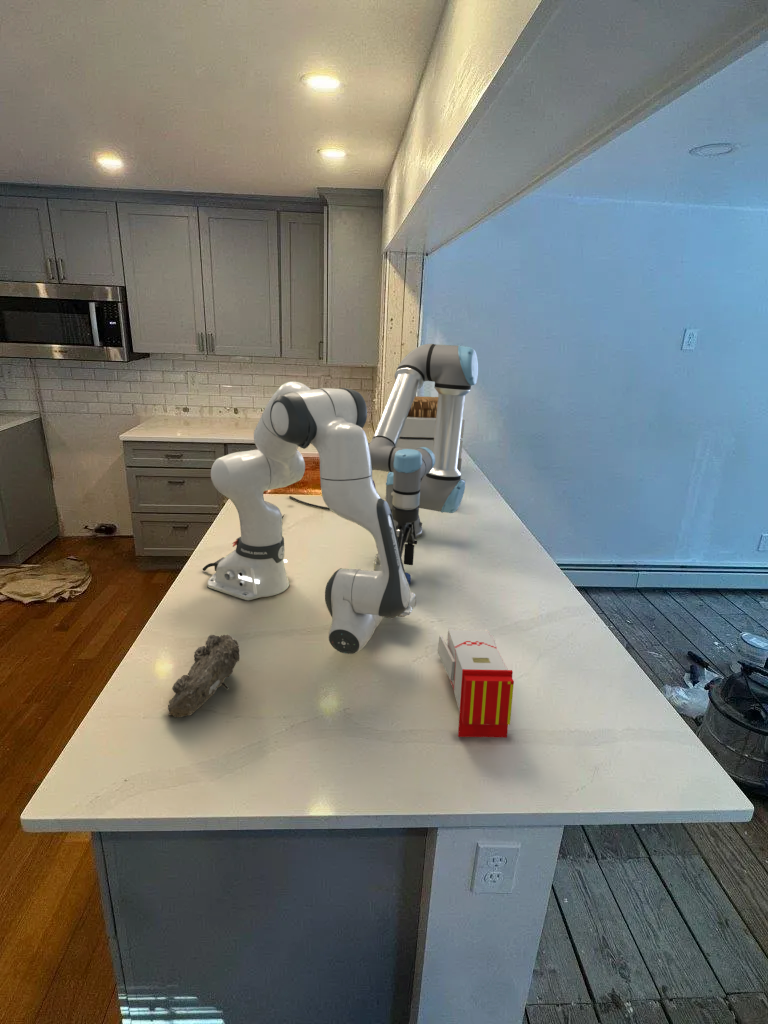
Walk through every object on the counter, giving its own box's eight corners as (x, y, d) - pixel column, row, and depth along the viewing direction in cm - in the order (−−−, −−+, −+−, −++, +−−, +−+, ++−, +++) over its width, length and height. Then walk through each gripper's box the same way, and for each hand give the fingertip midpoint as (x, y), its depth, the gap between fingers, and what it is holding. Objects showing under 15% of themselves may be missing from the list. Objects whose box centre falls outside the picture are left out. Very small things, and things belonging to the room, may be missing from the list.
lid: (406, 588, 161) (406, 582, 161) (387, 583, 164) (387, 577, 163) (413, 579, 166) (414, 574, 166) (395, 575, 169) (395, 569, 168)
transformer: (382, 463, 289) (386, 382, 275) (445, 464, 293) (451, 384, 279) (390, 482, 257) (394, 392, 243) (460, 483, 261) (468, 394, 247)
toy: (488, 613, 130) (523, 677, 101) (484, 667, 133) (517, 744, 104) (435, 612, 130) (455, 676, 101) (432, 666, 133) (451, 743, 103)
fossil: (192, 637, 126) (240, 606, 121) (222, 665, 128) (270, 636, 123) (145, 711, 106) (200, 678, 101) (182, 743, 109) (237, 712, 104)
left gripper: (409, 604, 132) (422, 579, 145) (327, 589, 138) (347, 566, 150) (407, 628, 135) (421, 601, 147) (327, 612, 140) (347, 588, 152)
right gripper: (405, 490, 170) (401, 554, 177) (378, 518, 147) (375, 590, 155) (429, 493, 168) (425, 558, 175) (406, 523, 145) (402, 596, 153)
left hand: (383, 584), depth 149 cm, fingers closed on jar, 5 cm apart
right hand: (402, 574), depth 165 cm, fingers open, 13 cm apart
